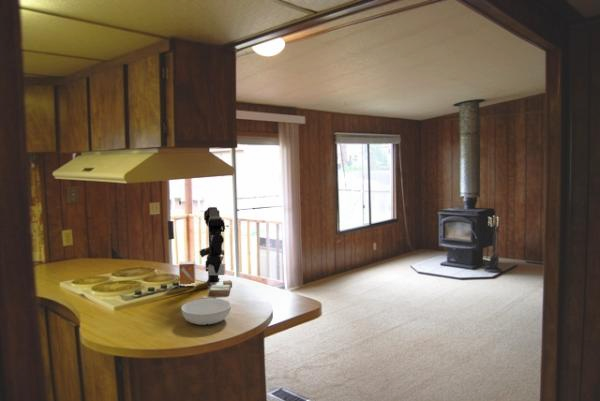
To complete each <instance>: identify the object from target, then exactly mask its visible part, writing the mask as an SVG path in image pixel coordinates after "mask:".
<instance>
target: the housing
mask: <svg viewBox="0 0 600 401" xmlns="http://www.w3.org/2000/svg"><path fill="white" fill-rule="evenodd" d="M207 269H208V271H207V276H208V275H218V276H225V274H226V263H222V264H221V265H220V267H219V270H218V273H215V270H214V266H213V264H209V266H208V268H207Z"/></svg>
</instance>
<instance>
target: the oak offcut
mask: <svg viewBox="0 0 600 401" xmlns="http://www.w3.org/2000/svg"><path fill="white" fill-rule="evenodd" d="M222 285H229V286H230V288H233V280H230V279H229V280H223V281H222Z"/></svg>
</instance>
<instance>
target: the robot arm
mask: <svg viewBox="0 0 600 401" xmlns="http://www.w3.org/2000/svg"><path fill="white" fill-rule="evenodd" d="M203 220H204V223H205V225H206V226H207V230H208V247H206V248H201V249H200V250H199V256H200V257H201V258H204V257H206V260H205V267H204V268H205V272H206V273H208V266H209V264H213V266H214V270H215V273H218V270H219V267H220V265H221V264H223V260H224V256H225V250H224V249H223V243H224V240H225V239H224V236H223V233H225V230H226V225H225V221H224V219H222V217H221V216H220V210H218V207H215V206H210V207H207V209H206V210H205V211H204V212H203ZM207 276H208V278H207V281H206V282H207V283H219V282H220V280H221V279H220V277H219V275H208V274H207Z"/></svg>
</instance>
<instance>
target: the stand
mask: <svg viewBox="0 0 600 401" xmlns="http://www.w3.org/2000/svg"><path fill="white" fill-rule="evenodd" d="M231 289H232V287H230V286H229V285H223V284H214V285H213V284H212V285H211V287H210V289H209V290H208V291H209V292H208V294H209V295H208V296H209V297H216V296H217V297H220V296H222V297H223V296H224V297H225V296H230V295H231V294H230V293H231V291H232V290H231Z"/></svg>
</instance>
